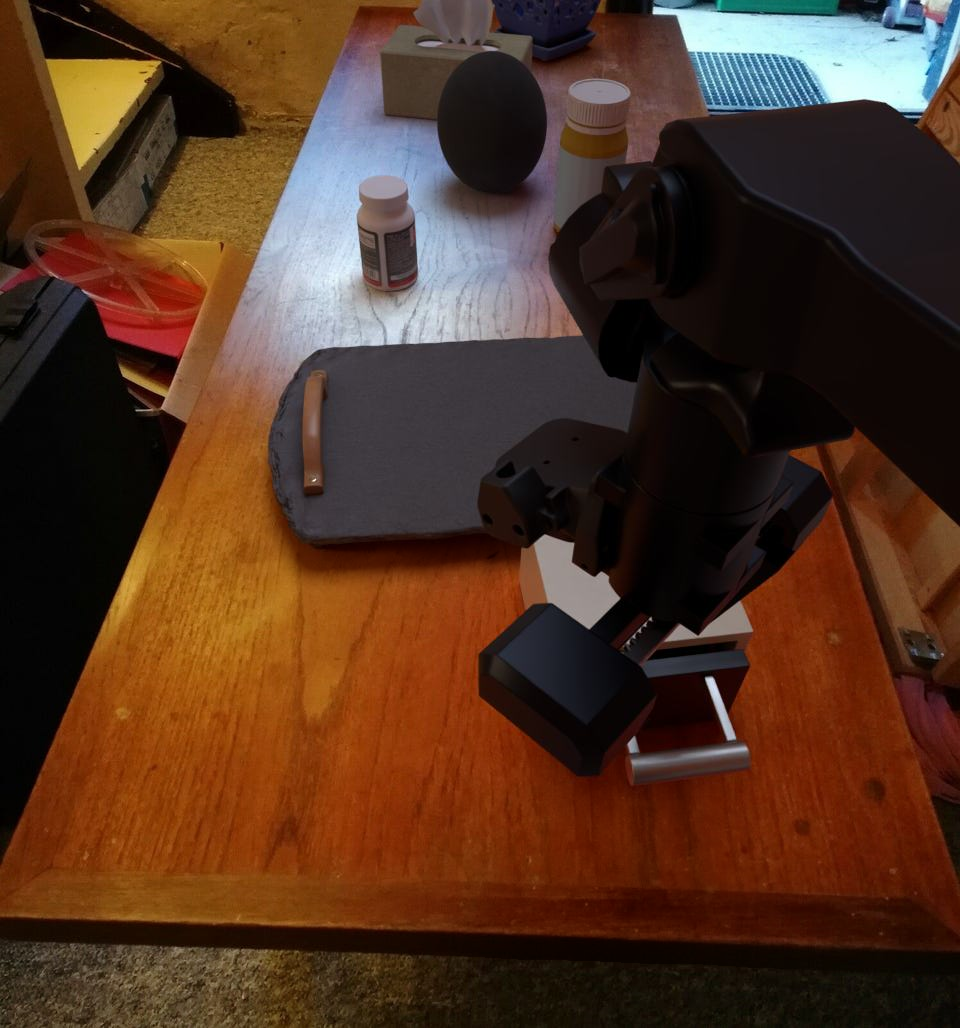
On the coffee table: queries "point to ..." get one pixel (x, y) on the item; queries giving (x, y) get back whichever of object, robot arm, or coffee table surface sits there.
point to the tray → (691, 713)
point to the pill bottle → (387, 233)
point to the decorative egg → (492, 122)
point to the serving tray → (422, 430)
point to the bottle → (589, 142)
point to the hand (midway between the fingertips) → (638, 681)
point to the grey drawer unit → (608, 597)
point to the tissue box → (439, 53)
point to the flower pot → (548, 24)
